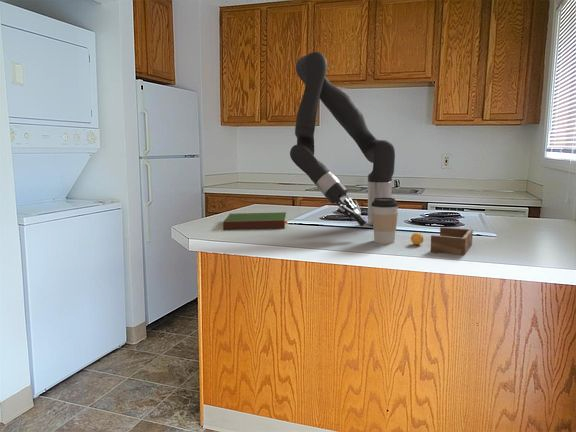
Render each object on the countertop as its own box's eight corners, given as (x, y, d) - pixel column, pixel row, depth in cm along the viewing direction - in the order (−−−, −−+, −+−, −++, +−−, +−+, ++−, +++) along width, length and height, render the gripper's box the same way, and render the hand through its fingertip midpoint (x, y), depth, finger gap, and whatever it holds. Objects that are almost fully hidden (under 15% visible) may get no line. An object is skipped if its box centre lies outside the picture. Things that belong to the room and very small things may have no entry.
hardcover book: (223, 231, 185) (223, 221, 185) (230, 222, 204) (230, 213, 203) (286, 229, 185) (286, 220, 184) (288, 220, 203) (287, 212, 202)
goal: (440, 241, 157) (440, 227, 156) (472, 244, 152) (472, 229, 151) (430, 251, 145) (431, 235, 144) (464, 255, 140) (465, 238, 139)
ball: (412, 242, 157) (412, 231, 156) (424, 243, 155) (424, 232, 154) (409, 245, 153) (409, 233, 153) (421, 246, 151) (421, 234, 151)
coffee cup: (399, 239, 162) (400, 196, 159) (396, 245, 154) (397, 200, 151) (373, 237, 165) (373, 195, 162) (369, 243, 157) (369, 199, 154)
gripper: (330, 182, 158) (364, 220, 155) (345, 178, 170) (378, 214, 166) (316, 197, 162) (349, 235, 158) (332, 192, 173) (364, 227, 169)
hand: (364, 224), depth 162 cm, fingers closed
